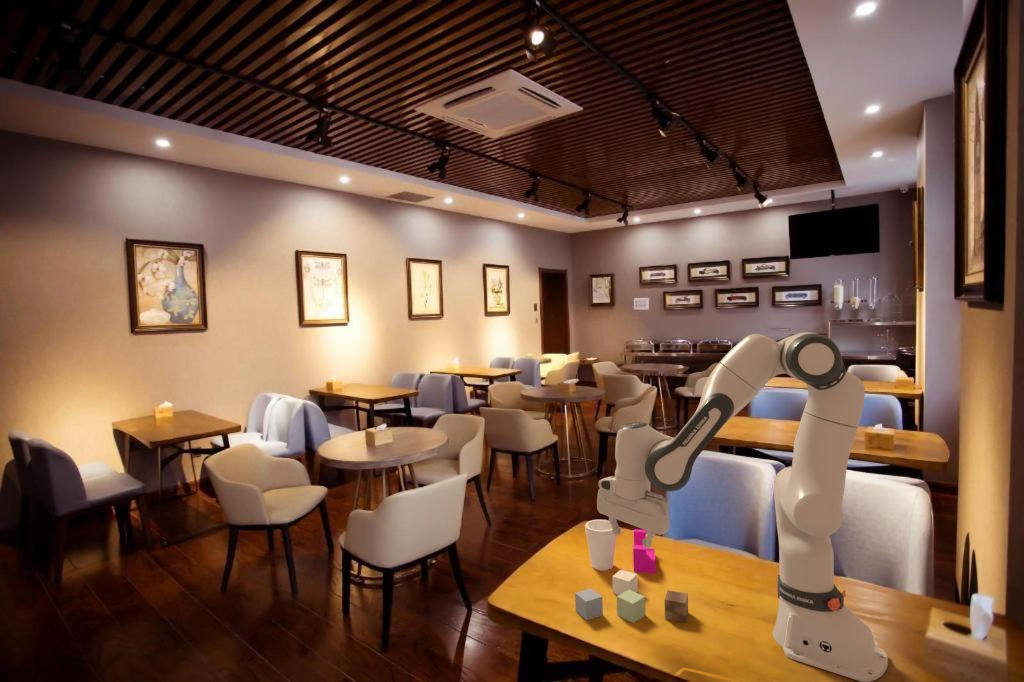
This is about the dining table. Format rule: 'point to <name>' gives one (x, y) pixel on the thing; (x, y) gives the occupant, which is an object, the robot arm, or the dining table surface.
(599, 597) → the cube slate
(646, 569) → the toy block
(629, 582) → the cube offwhite
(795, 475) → the robot arm
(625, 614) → the cube sage
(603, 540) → the foam cup
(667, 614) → the cube walnut
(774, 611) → the dining table surface
